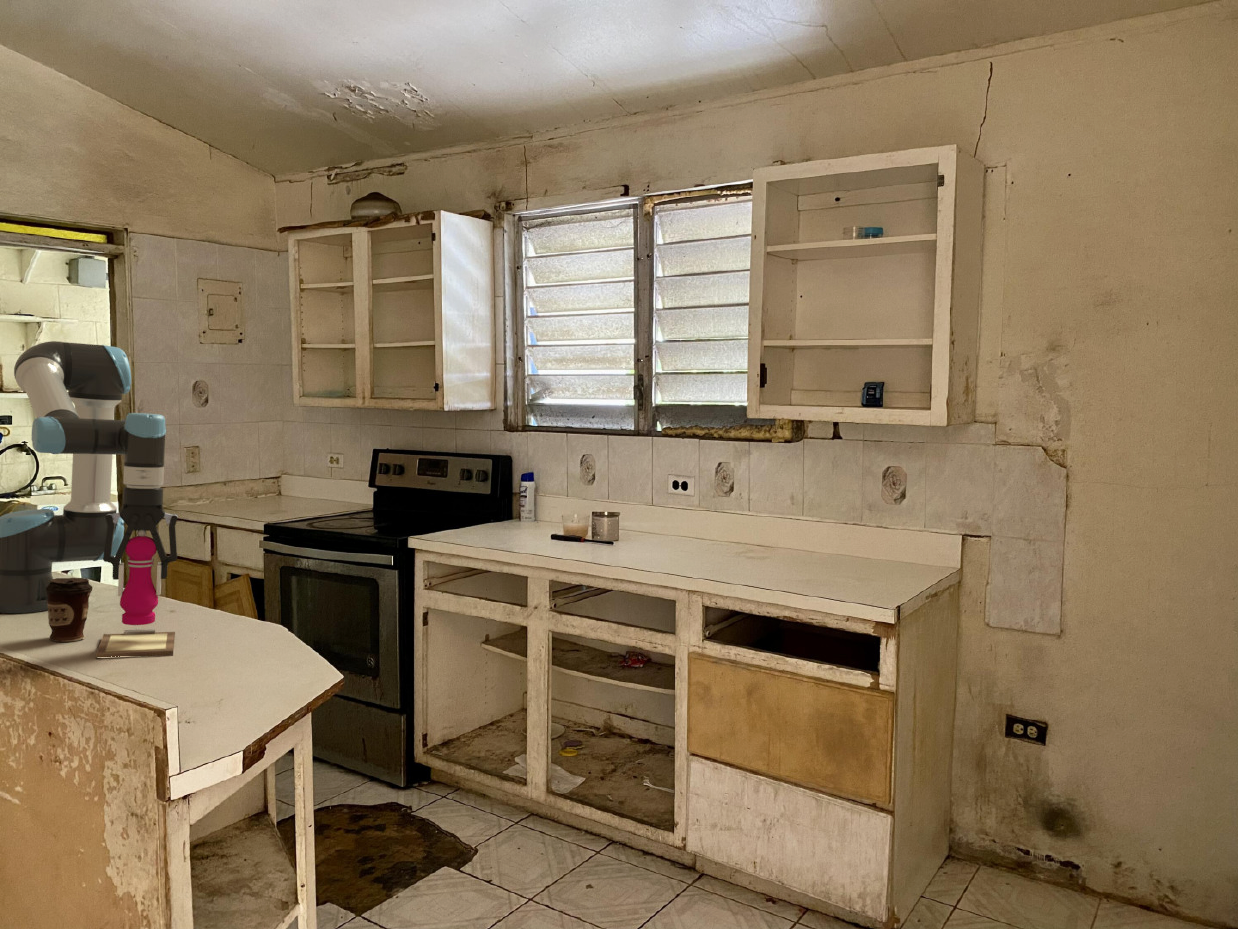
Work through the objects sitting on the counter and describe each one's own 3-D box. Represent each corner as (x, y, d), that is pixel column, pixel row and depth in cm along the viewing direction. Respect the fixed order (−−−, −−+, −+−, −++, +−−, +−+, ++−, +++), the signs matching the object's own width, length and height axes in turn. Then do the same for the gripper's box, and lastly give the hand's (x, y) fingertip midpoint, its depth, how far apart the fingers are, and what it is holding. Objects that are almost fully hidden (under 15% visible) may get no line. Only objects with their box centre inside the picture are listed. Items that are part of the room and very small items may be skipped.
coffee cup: (67, 646, 191) (69, 585, 190) (33, 641, 193) (35, 581, 192) (98, 636, 200) (100, 578, 199) (66, 632, 201) (68, 574, 201)
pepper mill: (165, 621, 196) (168, 528, 195) (137, 627, 189) (141, 532, 188) (139, 616, 198) (142, 525, 197) (111, 623, 191) (114, 528, 190)
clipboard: (103, 638, 198) (103, 630, 198) (174, 636, 204) (175, 628, 204) (95, 659, 184) (96, 650, 184) (173, 655, 190) (173, 646, 190)
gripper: (88, 487, 185) (84, 599, 186) (194, 489, 193) (189, 596, 194) (92, 483, 191) (88, 591, 193) (194, 485, 200) (190, 589, 201)
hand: (139, 594), depth 193 cm, fingers closed on pepper mill, 6 cm apart
